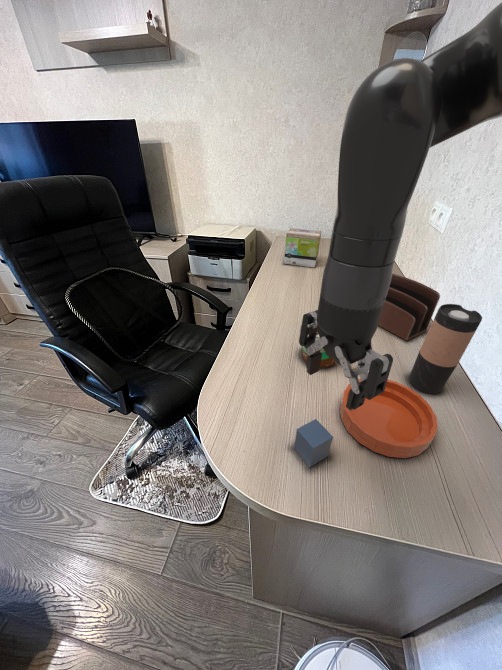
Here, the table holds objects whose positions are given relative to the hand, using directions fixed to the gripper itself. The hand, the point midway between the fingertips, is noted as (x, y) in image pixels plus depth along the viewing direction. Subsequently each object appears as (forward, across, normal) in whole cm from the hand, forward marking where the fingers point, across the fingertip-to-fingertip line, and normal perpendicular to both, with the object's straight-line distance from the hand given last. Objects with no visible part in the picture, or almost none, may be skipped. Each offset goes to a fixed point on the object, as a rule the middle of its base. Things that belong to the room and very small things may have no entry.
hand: (331, 388), depth 43 cm
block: (+17, +1, +1) cm, 17 cm away
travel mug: (+17, 0, -35) cm, 39 cm away
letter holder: (+17, +23, -52) cm, 59 cm away
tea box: (+17, +80, -61) cm, 102 cm away
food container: (+17, +20, -17) cm, 32 cm away
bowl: (+17, -2, -17) cm, 24 cm away
